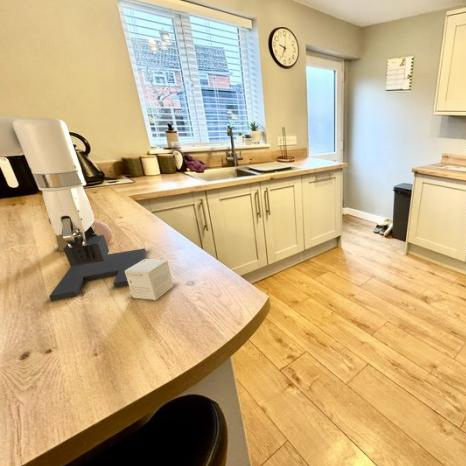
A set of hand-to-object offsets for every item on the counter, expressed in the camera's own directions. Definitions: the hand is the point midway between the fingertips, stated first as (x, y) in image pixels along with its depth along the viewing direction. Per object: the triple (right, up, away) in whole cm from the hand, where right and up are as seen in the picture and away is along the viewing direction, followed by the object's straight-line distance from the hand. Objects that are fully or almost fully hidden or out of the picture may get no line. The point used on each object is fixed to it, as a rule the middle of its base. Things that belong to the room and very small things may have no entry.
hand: (89, 254), depth 68 cm
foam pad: (0, -1, 0) cm, 1 cm away
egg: (-18, +1, +24) cm, 30 cm away
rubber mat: (-3, -6, +8) cm, 11 cm away
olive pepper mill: (-26, +1, +23) cm, 35 cm away
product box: (+15, -9, +1) cm, 18 cm away
